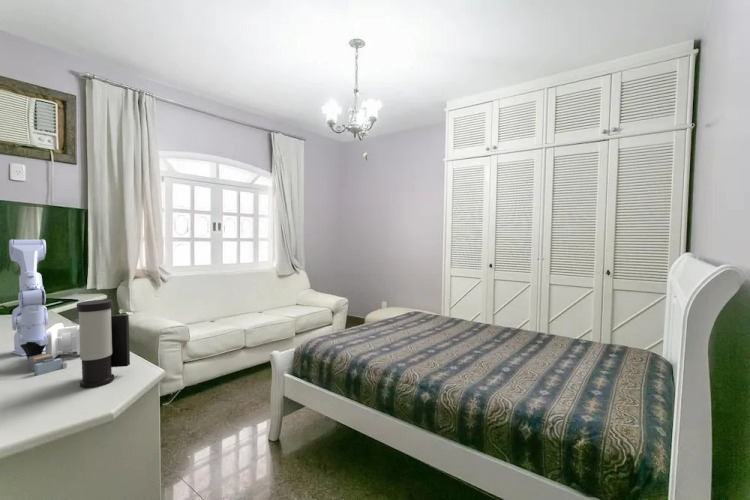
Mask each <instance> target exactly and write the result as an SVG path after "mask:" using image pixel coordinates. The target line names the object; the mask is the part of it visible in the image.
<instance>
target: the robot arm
mask: <svg viewBox="0 0 750 500" xmlns="http://www.w3.org/2000/svg"><path fill="white" fill-rule="evenodd" d="M8 245H9V246H8V250H9V259H10V261H12V262H15V263H18V265H19V267H20V275H19V277H18V280H19V282H18V284H19V292H18V296H17V297H18V306H17V307H16V308H14V309H13V311H12V312H11V314H12V315H11V322H12V323H11V326H12V327H11V328H12V330H13V331H16V332H15V333H14V336H13V345H14V346H13V347H14V350H13V351H10V352H11V354H15V355H17V356H22V357H23V356H26V358H27V361H28V362H29V357H31V356H35V355H39V354H43V352H46V345H47V344H48V339H47V338H46V335H45V332H46V329H45V327H47V326H48V324H49V313H48V308H47V307H46V306H45V305H46V298H47V297H46V291H45V289H44V288H45V287H44V284H43V278H42V274H41V273H40V272H38V271H37V269H38V263H39V262H40V261H43V260H45V257H46V254H47V243H46V240H45V239H42V238H41V239H13V238H12V239H11V238H10V240H9V241H8Z"/></svg>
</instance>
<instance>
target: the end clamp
mask: <svg viewBox="0 0 750 500" xmlns="http://www.w3.org/2000/svg"><path fill="white" fill-rule="evenodd" d="M62 362H63V359H62V358H59V357H58V358H55V359H48V360H44V361H43V362H42V363H38V364H34V370H33V371H34V375H36V376H40V375H43V374H47V373H51V372H55V371H57V370H61V369H63V368H62Z"/></svg>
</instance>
